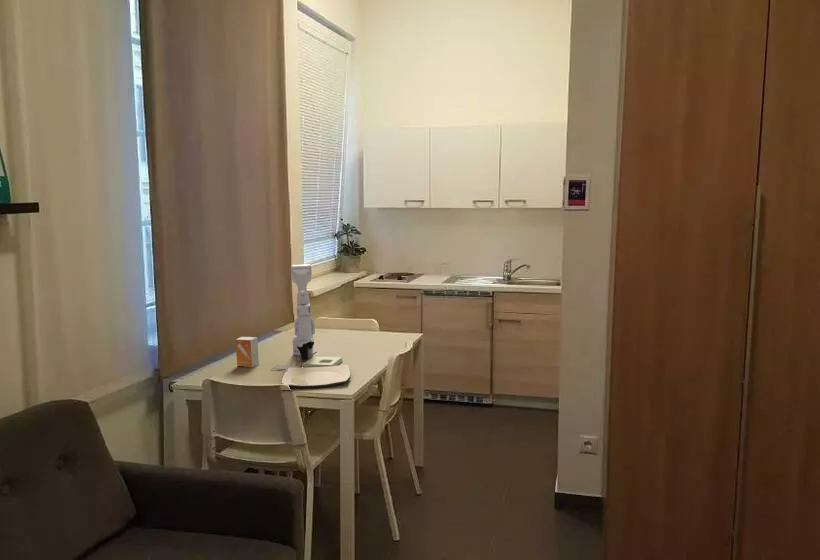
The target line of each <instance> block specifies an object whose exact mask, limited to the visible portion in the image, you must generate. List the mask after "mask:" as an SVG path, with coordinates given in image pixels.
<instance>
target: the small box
mask: <svg viewBox="0 0 820 560" xmlns="http://www.w3.org/2000/svg"><path fill="white" fill-rule="evenodd" d="M258 344H259V343H258V337H257V336H255V337H253V336H240V337H239V338H236V339H235V350H236V351H235V353H236V367H237V366H244V367H243V368H251V367H252V368H254V367H256V366H258V365H260V360H259V358H260V357H259V346H258ZM257 364H258V365H257ZM255 365H256V366H255ZM253 366H254V367H253Z"/></svg>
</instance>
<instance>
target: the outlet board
mask: <svg viewBox="0 0 820 560" xmlns="http://www.w3.org/2000/svg"><path fill="white" fill-rule="evenodd" d="M342 362H343V356H317V355H315V356H312V358H311V359H309V360H308V361H306V362H305V363H302V366H303V368H310V367H328V366H339V365H340V364H341V363H342Z"/></svg>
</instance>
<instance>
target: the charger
mask: <svg viewBox="0 0 820 560" xmlns="http://www.w3.org/2000/svg"><path fill="white" fill-rule="evenodd" d="M312 357H313V354H312V348H308V354H307V360H302V357H301V356H300V363H302V362H306V361H308V360H309V359H311V358H312Z"/></svg>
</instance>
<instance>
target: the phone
mask: <svg viewBox="0 0 820 560" xmlns="http://www.w3.org/2000/svg"><path fill="white" fill-rule="evenodd" d="M302 367H303V365H283V364H282V365H279V364H278V365H276V366H274V367H272V368H271V369H279V370H278V371H280V370H286V369H287V370H288V368H302Z"/></svg>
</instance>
